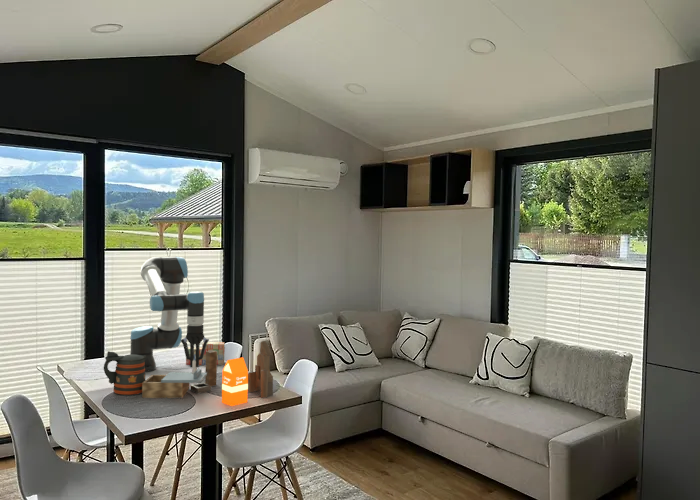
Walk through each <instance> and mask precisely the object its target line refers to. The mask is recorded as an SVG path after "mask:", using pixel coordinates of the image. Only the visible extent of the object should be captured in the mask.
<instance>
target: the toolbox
mask: <svg viewBox="0 0 700 500" xmlns="http://www.w3.org/2000/svg"><path fill="white" fill-rule="evenodd" d="M166 375H167V374H151V375H149V376H148V377H147V378H145V381H144V382H143V383H142V393H141V395H142V396H141V397H142V398H143V399H146V398H147V399H152V398H153V399H159V398H160V399H183V398H184V396H185V395H186V393H188V391H189V390H190V383H161V380H162V379H163V378H164V377H165V376H166ZM166 397H167V398H166Z"/></svg>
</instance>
